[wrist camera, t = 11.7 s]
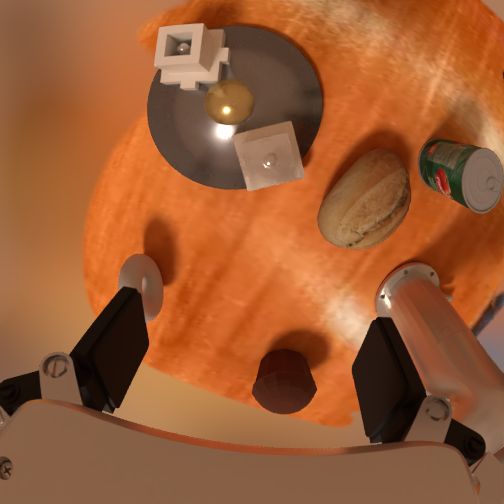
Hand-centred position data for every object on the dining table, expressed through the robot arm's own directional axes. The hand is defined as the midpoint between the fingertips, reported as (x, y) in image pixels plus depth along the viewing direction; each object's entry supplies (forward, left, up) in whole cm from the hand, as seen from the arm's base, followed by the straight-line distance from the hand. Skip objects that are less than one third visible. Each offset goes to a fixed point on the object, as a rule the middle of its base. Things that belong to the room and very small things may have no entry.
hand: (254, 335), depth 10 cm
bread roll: (-13, 0, -28) cm, 31 cm away
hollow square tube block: (+10, -16, -26) cm, 33 cm away
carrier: (+5, -10, -28) cm, 30 cm away
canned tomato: (-25, -7, -28) cm, 38 cm away
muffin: (-7, +33, -28) cm, 43 cm away
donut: (+16, +15, -28) cm, 35 cm away
